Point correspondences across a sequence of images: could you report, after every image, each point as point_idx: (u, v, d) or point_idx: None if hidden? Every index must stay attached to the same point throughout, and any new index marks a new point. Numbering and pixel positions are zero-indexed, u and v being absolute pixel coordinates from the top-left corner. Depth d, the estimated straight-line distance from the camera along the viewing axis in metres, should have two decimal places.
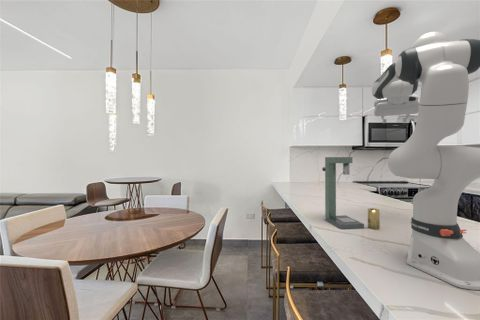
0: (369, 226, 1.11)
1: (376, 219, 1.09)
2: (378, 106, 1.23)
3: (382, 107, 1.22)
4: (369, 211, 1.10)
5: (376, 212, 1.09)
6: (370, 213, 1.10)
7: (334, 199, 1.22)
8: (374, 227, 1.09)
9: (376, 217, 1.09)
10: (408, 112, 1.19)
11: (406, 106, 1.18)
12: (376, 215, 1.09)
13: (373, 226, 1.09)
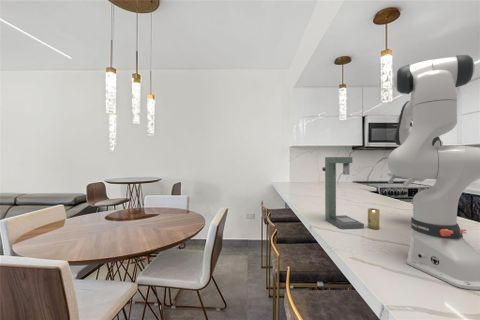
0: (369, 226, 1.11)
1: (376, 219, 1.09)
2: None
3: None
4: (369, 211, 1.10)
5: (376, 212, 1.09)
6: (370, 213, 1.10)
7: (334, 199, 1.22)
8: (374, 227, 1.09)
9: (376, 217, 1.09)
10: None
11: None
12: (376, 215, 1.09)
13: (373, 226, 1.09)
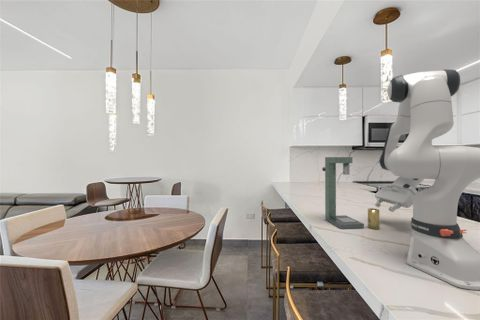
0: (369, 226, 1.11)
1: (376, 219, 1.09)
2: (382, 188, 1.20)
3: (384, 190, 1.19)
4: (369, 211, 1.10)
5: (376, 212, 1.09)
6: (370, 213, 1.10)
7: (334, 199, 1.22)
8: (374, 227, 1.09)
9: (376, 217, 1.09)
10: (397, 199, 1.06)
11: (400, 194, 1.08)
12: (376, 215, 1.09)
13: (373, 226, 1.09)
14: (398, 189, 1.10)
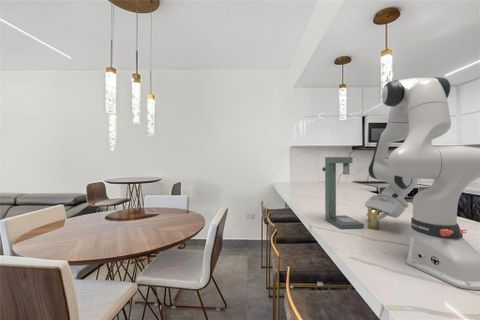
0: (369, 226, 1.11)
1: None
2: (372, 196, 1.20)
3: (373, 198, 1.18)
4: (369, 211, 1.10)
5: (376, 212, 1.09)
6: (370, 213, 1.10)
7: (334, 199, 1.22)
8: (374, 227, 1.09)
9: None
10: (385, 209, 1.06)
11: (388, 204, 1.07)
12: (376, 215, 1.09)
13: (373, 226, 1.09)
14: (387, 198, 1.09)
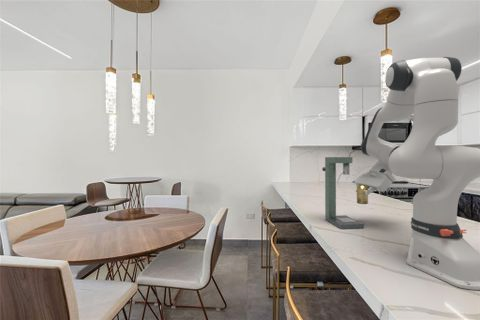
0: (358, 201, 1.13)
1: (365, 195, 1.11)
2: None
3: (363, 176, 1.20)
4: (358, 187, 1.13)
5: (364, 187, 1.11)
6: (359, 189, 1.13)
7: (334, 199, 1.22)
8: (362, 202, 1.11)
9: None
10: (373, 184, 1.08)
11: (376, 179, 1.10)
12: (365, 190, 1.11)
13: (361, 202, 1.12)
14: (375, 174, 1.12)
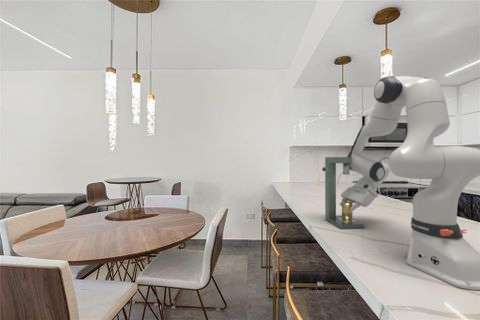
0: (343, 218, 1.17)
1: (349, 212, 1.15)
2: (347, 188, 1.26)
3: (349, 190, 1.24)
4: (343, 204, 1.17)
5: (349, 205, 1.15)
6: (344, 206, 1.16)
7: (334, 199, 1.22)
8: (347, 219, 1.15)
9: (349, 210, 1.15)
10: (357, 199, 1.12)
11: (360, 194, 1.13)
12: (349, 207, 1.15)
13: (346, 218, 1.16)
14: (359, 189, 1.16)
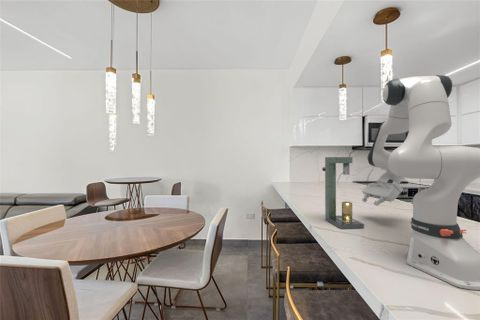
0: (343, 218, 1.17)
1: (349, 212, 1.15)
2: (369, 184, 1.27)
3: (370, 186, 1.25)
4: (343, 204, 1.17)
5: (349, 205, 1.15)
6: (343, 206, 1.16)
7: (334, 199, 1.22)
8: (347, 219, 1.15)
9: (349, 210, 1.15)
10: (381, 194, 1.13)
11: (384, 189, 1.14)
12: (349, 207, 1.15)
13: (346, 218, 1.16)
14: (383, 184, 1.17)
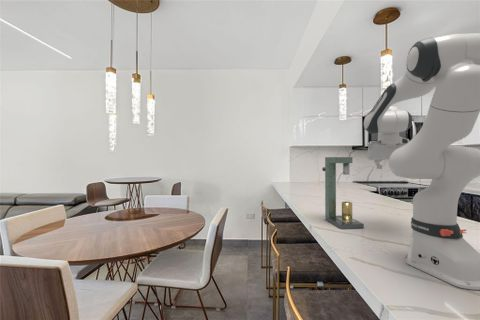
0: (343, 218, 1.17)
1: (349, 212, 1.15)
2: (374, 147, 1.08)
3: (378, 149, 1.08)
4: (343, 204, 1.17)
5: (349, 205, 1.15)
6: (343, 206, 1.16)
7: (334, 199, 1.22)
8: (347, 219, 1.15)
9: (349, 210, 1.15)
10: None
11: None
12: (349, 207, 1.15)
13: (346, 218, 1.16)
14: (396, 145, 1.08)
